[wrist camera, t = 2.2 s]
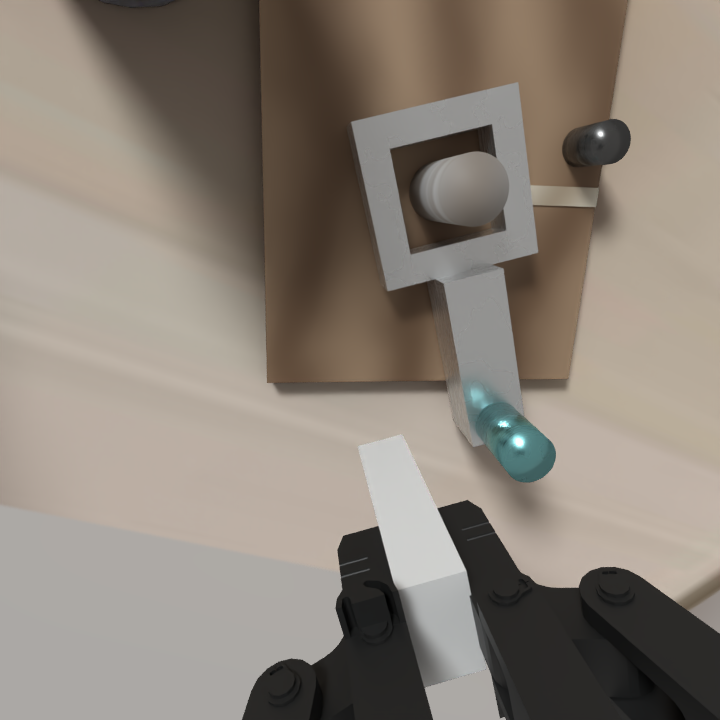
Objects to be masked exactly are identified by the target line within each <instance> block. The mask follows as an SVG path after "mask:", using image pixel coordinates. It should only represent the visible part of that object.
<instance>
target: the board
mask: <svg viewBox="0 0 720 720" xmlns="http://www.w3.org/2000/svg"><path fill="white" fill-rule="evenodd" d="M627 2H628V0H259V19H260V66H261V114H262V161H263V209H264V257H265V304H266V352H267V383H290V382H365V381H439V380H446V379H445V374H444V369H443V363H442V358H441V353H440V348H439V342H438V337H437V332H436V327H435V321H434V316H433V311H432V306H431V300H430V295H429V290H428V285H427V281H426V282H422V283H419V284H415V285H411V286H407V287H403V288H399V289H395V290H391V291H387V290H386V289H385V288H384V287H382V286H381V283H380V278H379V274H378V269H377V265H376V260H375V256H374V251H373V246H372V242H371V237H370V233H369V228H368V224H367V219H366V215H365V210H364V205H363V201H362V196H361V192H360V187H359V183H358V178H357V174H356V169H355V164H354V160H353V155H352V151H351V146H350V142H349V137H348V133H347V128H346V127H347V126H348V125H349V124H350V122H352V121H356V120H361V119H365V118H369V117H373V116H377V115H382V114H386V113H390V112H394V111H398V110H403V109H407V108H411V107H415V106H419V105H424V104H428V103H432V102H436V101H441V100H445V99H449V98H453V97H457V96H462V95H466V94H470V93H474V92H478V91H483V90H487V89H491V88H495V87H499V86H504V85H508V84H512V83H516V82H518V85H519V93H520V102H521V110H522V119H523V127H524V136H525V144H526V153H527V161H528V169H529V178H530V186H531V195H532V203H533V212H534V220H535V229H536V237H537V246H538V253H535V254H531V255H527V256H524V257H520V258H516V259H512V260H508V261H504V262H500V263H496V264H492V265H494V266H498V267H501V268H503V269H504V276H505V283H506V290H507V298H508V305H509V312H510V319H511V326H512V333H513V340H514V347H515V354H516V361H517V368H518V376H519V379H568V376H569V370H570V364H571V357H572V351H573V345H574V338H575V332H576V326H577V319H578V313H579V307H580V300H581V294H582V288H583V281H584V275H585V269H586V262H587V256H588V250H589V243H590V237H591V231H592V224H593V218H594V212H595V207H596V205H597V199H598V193H599V188H598V186H599V180H600V173H601V167H602V165H597V166H587V167H572V166H570V165H569V164H568V163H567V162H566V161H565V159H564V157H563V154H562V145H563V141H564V139H565V137H566V136H567V134H568V133H569V132H570V131H572V130H573V129H575V128H578V127H582V126H586V125H590V124H594V123H598V122H602V121H606V120H609V116H610V110H611V104H612V97H613V91H614V85H615V78H616V72H617V66H618V59H619V53H620V47H621V40H622V34H623V28H624V21H625V15H626V9H627ZM390 153H391V158H392V163H393V168H394V173H395V178H396V183H397V188H398V193H399V199H400V204H401V209H402V214H403V219H404V224H405V229H406V234H407V239H408V244H409V249H412V248H416V247H420V246H424V245H428V244H432V243H436V242H439V241H443V240H447V239H451V238H455V237H459V236H463V235H467V234H471V233H475V232H479V231H483V230H487V229H491V228H492V227H491V221H492V220H493V219H494V218H496V217H497V216H498V215H499V214H500V212H501V211H502V210H503V208H504V206H505V204H506V202H507V198H508V194H509V179H508V175H507V172H506V170H505V168H504V166H503V165H502V164H501V162H500V161H499V160H498V159H497V158H495V157H494V156H492V155H490V154H488V153H485V152H481V151H480V144H479V137H478V131H477V130H473V131H469V132H465V133H460V134H456V135H452V136H448V137H444V138H440V139H436V140H432V141H427V142H423V143H419V144H415V145H411V146H407V147H403V148H398V149H394V150H390Z"/></svg>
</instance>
